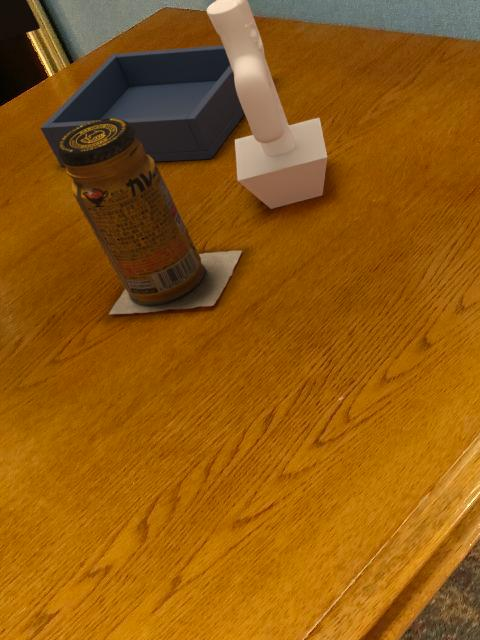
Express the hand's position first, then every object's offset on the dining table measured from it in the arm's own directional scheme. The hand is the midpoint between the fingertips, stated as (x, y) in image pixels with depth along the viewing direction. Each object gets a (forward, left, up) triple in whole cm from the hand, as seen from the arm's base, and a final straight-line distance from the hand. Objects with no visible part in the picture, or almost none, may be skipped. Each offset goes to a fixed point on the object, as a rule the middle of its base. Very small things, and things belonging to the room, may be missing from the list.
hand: (10, 0), depth 64 cm
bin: (-9, +24, -20) cm, 32 cm away
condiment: (+4, -2, -20) cm, 21 cm away
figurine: (+9, +11, -20) cm, 24 cm away
